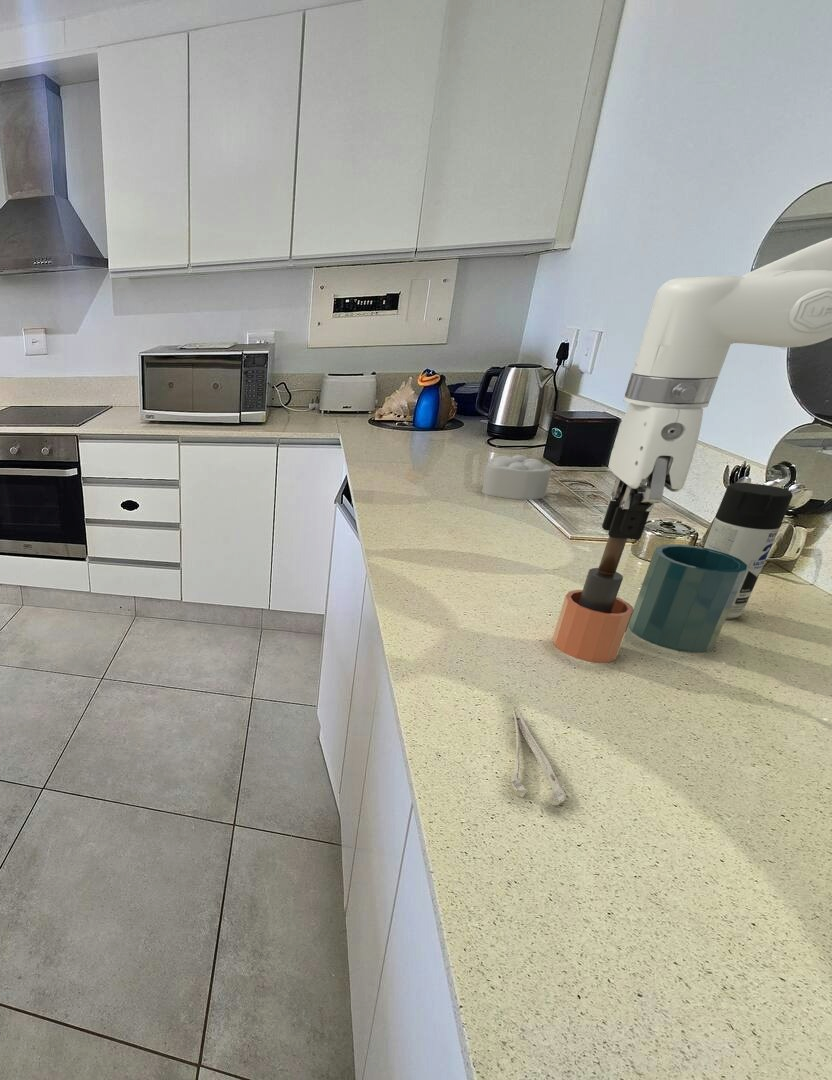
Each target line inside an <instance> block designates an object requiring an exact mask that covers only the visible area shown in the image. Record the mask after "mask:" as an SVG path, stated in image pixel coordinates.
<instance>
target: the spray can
mask: <svg viewBox="0 0 832 1080" xmlns="http://www.w3.org/2000/svg"><path fill="white" fill-rule="evenodd" d="M793 496H794V494H793V493H792V492H791V491H790V490H787V489H785V488H782V487H779V486H772V485H766V484H760V483H751V482H734V483H730V484H729V485H727V487H726V490H725V492H724V494H723V497H722V499H721V502H720V504H719V506H718V508H717V511H716V513H715V517H714V520H713V521H712V524H711V527H710V530H709V531H708V532H709V533H708V535H707V538H706V540H705V543H704V546H703V548H708V549H712V550H715V551H719V552H722V553H726V554H729V555H731V556H734V557H736V558H738V559H740V560H742V561H743V562H744V563H745V564H747V571H746V574H745V576H744V578H743V580H742V583H741V585H740V587H739V590H738V592H737V594H736V597H735V599H734V601H733V603H732V606H731V608H730V610H729V613H728V615H727V617H726V620H734V619H738V618H739V617H741V615H743V613H744V611H745V608H746V606H747V604H748V601H749V600H750V597H751V595H752V593H753V590H754V588H755V585H756V584H757V581H758V578H759V576H760V574H761V572H762V570H763V567H764V565H765V563H766V561H767V558H768V556H769V553H770V551H771V549H772V546H773V545H774V542H775V540H776V537H777V535H778V533H779V532H780V528H781V527H782V524H783V521H784V519H785V517H786V514H787V512H788V509H789V506H790V504H791V502H792V499H793Z"/></svg>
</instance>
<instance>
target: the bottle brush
mask: <svg viewBox="0 0 832 1080" xmlns="http://www.w3.org/2000/svg"><path fill="white" fill-rule="evenodd" d="M634 495H635V494H634ZM623 497H624V496H623ZM623 497H622V499H621V502H620V505H619V507H621V503H622V500H623ZM627 540H628V539H622V538H612V537H610V536H609V535H608V539H607V542H606V545H605V548H604V551H603V554H602V556H601V559H600V562H599V566H598V567H593V568H590V569H589V570H588V572H587V575H586V578H585V582H584V584H583V587H582V590H583V591H582V594H581V597H580V600H579V603H578V604H579V605H580V606H582V607H585V608H588V609H591V610H594V611H598V612H603V613H611V611H612V608H613V605H614V602H615V600H616V597H617V596H618V594H619V591H620V588H621V585H622V583H623V579H624V576H623V574H621V573H620V572H617V569H618V567H619V564H620V562H621V561H620V560H621V558H622V555H623V552H624V549H625V546H626V543H627Z"/></svg>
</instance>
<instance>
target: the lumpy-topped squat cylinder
mask: <svg viewBox="0 0 832 1080" xmlns="http://www.w3.org/2000/svg"><path fill="white" fill-rule="evenodd" d="M552 471H553V469H552V467H551V466H549V465H548V464H544V463H543V462H542V461H541V460H540V459H537V458H528V457H526V456H524V455H522V454H515V455H513V456H508V455H498V456H496V457H493V458H489V460H488V463H487V465H486V470H485V475H484V480H483V484H482V488H481V493H483V495H484V494H485V495H487V496H492V497H496V498H497V497H498V498H504V499H512V500H523V501H525V500H530V501H531V500H539V499H540V500H541V499H544V498H545V497H546V494H547V490H548V485H549V481H550V477H551V474H552Z"/></svg>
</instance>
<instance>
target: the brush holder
mask: <svg viewBox="0 0 832 1080" xmlns="http://www.w3.org/2000/svg"><path fill="white" fill-rule="evenodd" d="M582 591H583V589H575V590H570V591H568V592H567V593H566V594H565V596H564V598H563V602H562V606H561V609H560V613H559V614H558V615H559V616H558V618H557V622H556V626H555V630H554V632H553V635H552V639H551V640H552V643H553V645H554V646H555V648H557V649H558V650H559V651H560V652H562V653H564V654H566V655H568V656H570V657H573V658H575V659H577V660H581V661H585V662H591V663H596V664H597V663H598V664H603V663H605V664H606V663H611V662H613V661H615V660H616V659H617V657H618V655H619V653H620V650H621V647H622V644H623V641H624V639H625V636H626V634H627V633H626V632H627V630H628V629H629V627H628V625H629V622H630V619H631V616H632V614H633V611H634V607H633V606H632V605H631V604H630V602H627V601H625V600H624V599H622V598H620V597H616V600H615V602H614V605H613V608H612V611H611V613H603V612H598V611H594V610H591V609H588V608H585V607H582V606H580V605H579V604H578V603H579V600H580V597H581V594H582Z"/></svg>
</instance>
